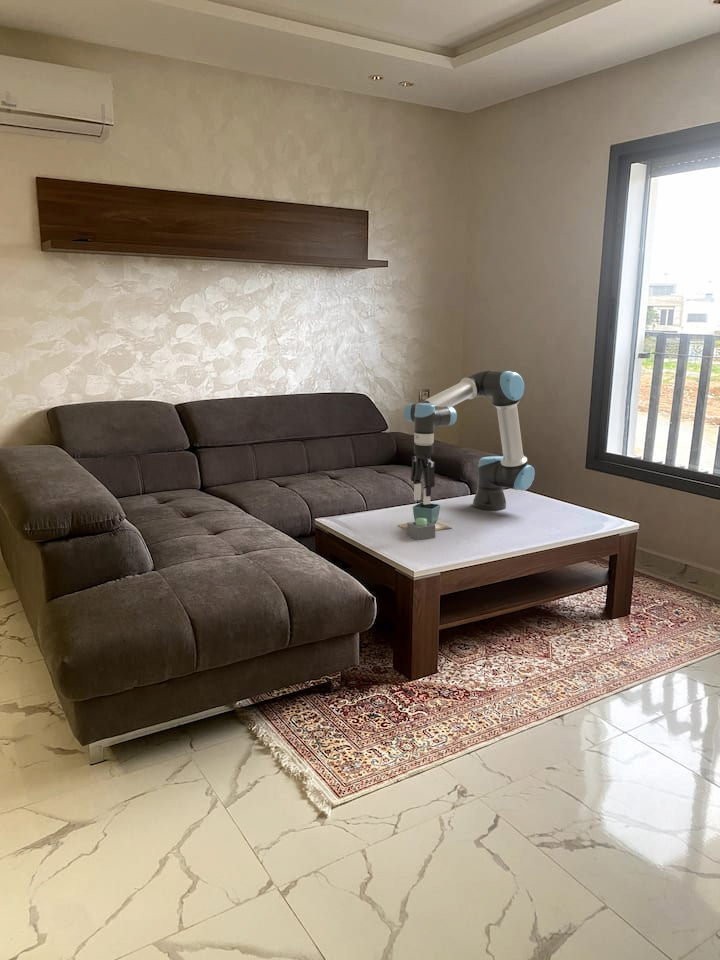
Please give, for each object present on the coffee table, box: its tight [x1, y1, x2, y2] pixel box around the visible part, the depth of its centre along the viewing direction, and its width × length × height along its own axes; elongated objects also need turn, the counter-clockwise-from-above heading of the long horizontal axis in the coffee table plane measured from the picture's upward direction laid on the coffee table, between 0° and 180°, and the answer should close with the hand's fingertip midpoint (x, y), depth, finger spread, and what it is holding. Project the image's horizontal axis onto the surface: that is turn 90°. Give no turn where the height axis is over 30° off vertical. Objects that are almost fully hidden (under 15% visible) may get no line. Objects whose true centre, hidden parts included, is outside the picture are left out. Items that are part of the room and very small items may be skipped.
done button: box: [416, 518, 427, 526], centre depth 296 cm, size 4×4×5 cm
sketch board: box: [397, 520, 452, 532], centre depth 310 cm, size 18×13×1 cm
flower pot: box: [412, 502, 441, 525], centre depth 307 cm, size 9×9×9 cm
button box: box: [406, 521, 436, 541], centre depth 297 cm, size 8×8×5 cm
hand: (421, 501), depth 294 cm, fingers open, 6 cm apart
